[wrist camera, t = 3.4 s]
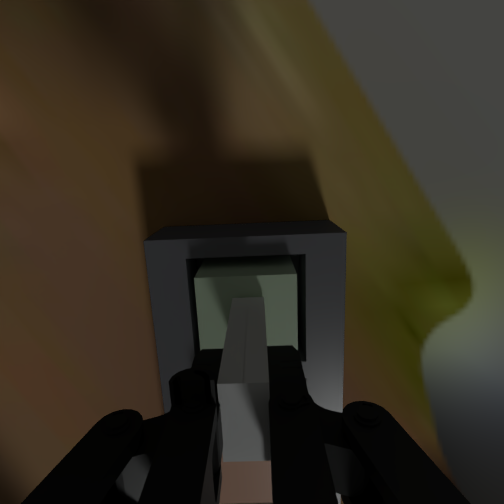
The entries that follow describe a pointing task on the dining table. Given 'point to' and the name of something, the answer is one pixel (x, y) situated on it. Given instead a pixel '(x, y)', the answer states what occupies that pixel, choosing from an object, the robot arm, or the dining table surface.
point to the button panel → (253, 244)
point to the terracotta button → (246, 482)
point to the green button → (247, 285)
